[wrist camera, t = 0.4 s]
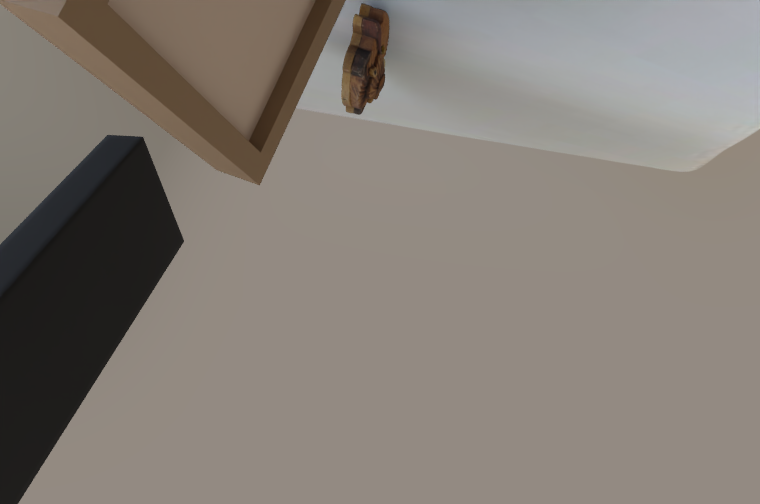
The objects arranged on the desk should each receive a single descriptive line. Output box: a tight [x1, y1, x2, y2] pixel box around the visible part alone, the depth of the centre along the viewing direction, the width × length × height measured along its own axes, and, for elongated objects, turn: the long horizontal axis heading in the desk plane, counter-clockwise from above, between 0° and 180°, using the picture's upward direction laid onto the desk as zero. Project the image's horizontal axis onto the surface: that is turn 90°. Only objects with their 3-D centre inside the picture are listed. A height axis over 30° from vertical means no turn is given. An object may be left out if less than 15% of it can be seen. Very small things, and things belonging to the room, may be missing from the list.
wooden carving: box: [341, 3, 389, 115], centre depth 63 cm, size 16×5×10 cm, turn 4°
